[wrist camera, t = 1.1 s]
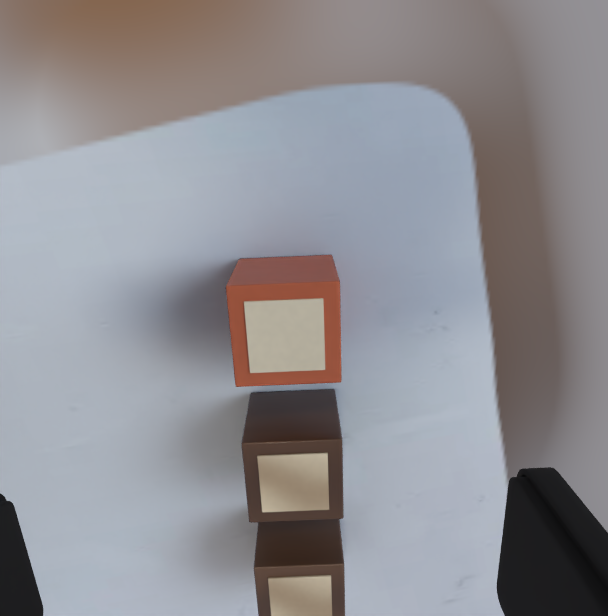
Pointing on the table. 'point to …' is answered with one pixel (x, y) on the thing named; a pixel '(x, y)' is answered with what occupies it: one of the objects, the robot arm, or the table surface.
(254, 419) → the brown wooden cube
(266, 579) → the brown wooden cube
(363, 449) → the table surface
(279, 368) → the orange cube
